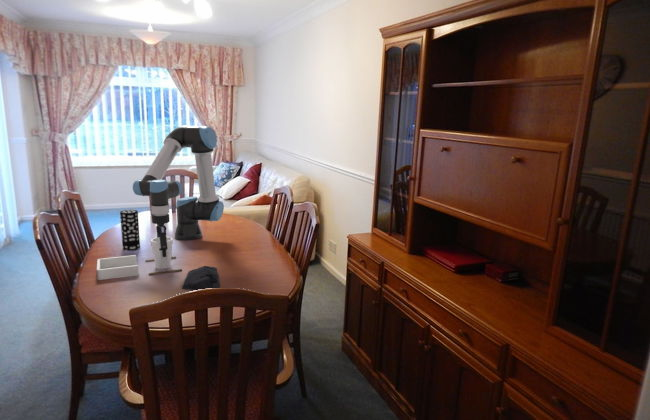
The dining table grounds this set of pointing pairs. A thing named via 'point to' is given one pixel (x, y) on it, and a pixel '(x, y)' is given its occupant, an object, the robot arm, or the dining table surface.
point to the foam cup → (157, 253)
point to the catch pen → (117, 267)
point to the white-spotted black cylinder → (130, 230)
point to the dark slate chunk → (201, 278)
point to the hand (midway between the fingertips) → (162, 259)
